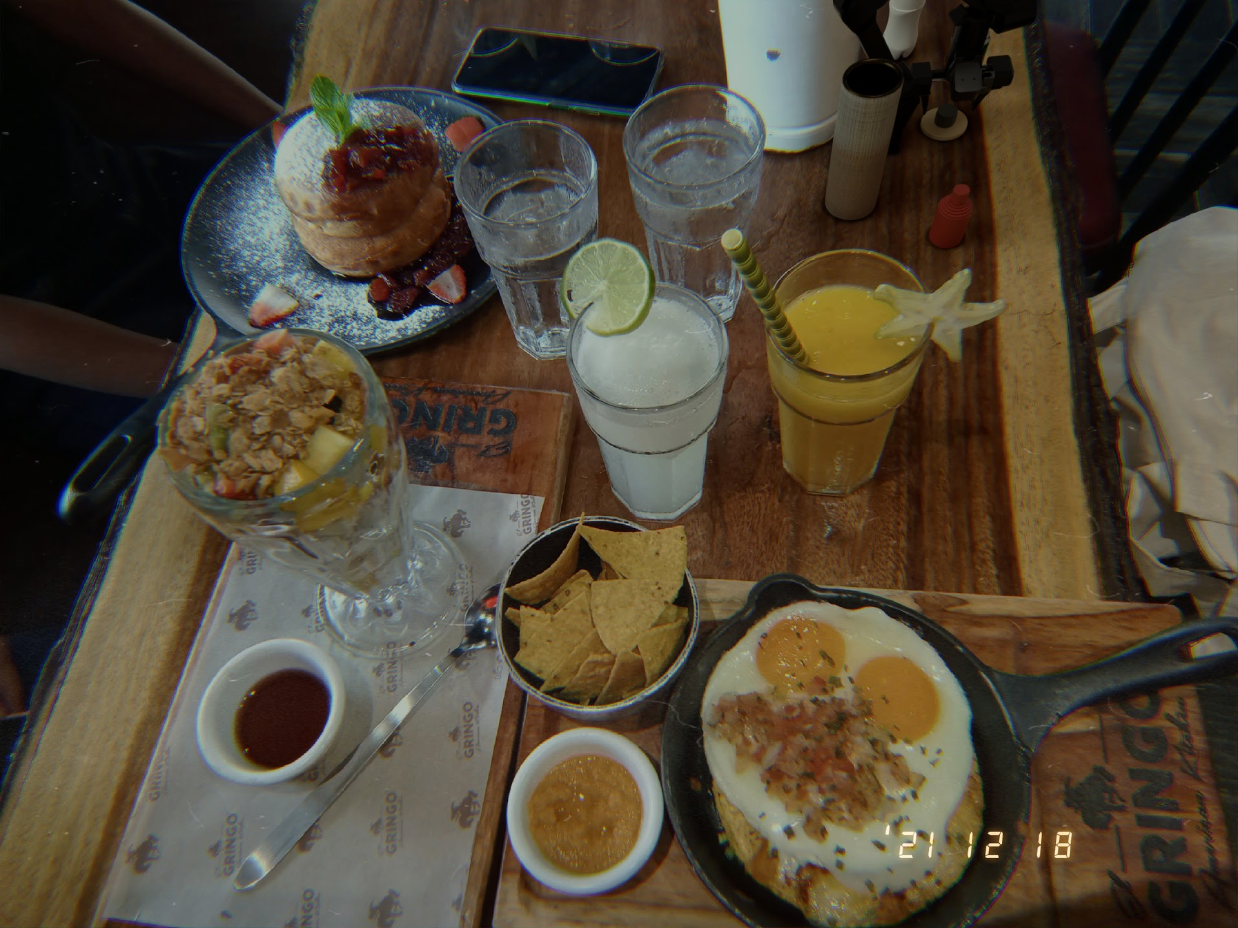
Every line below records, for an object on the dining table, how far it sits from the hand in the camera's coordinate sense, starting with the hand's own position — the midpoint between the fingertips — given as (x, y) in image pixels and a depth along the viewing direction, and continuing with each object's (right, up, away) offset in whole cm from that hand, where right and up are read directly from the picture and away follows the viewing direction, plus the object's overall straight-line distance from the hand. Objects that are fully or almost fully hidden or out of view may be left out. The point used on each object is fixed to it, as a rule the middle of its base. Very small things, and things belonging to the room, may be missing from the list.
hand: (947, 112), depth 149 cm
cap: (0, 0, 0) cm, 0 cm away
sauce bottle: (-5, -28, -10) cm, 30 cm away
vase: (-21, -20, -2) cm, 29 cm away
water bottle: (-5, +20, +14) cm, 25 cm away
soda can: (+6, +8, +7) cm, 13 cm away
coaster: (0, -1, +3) cm, 3 cm away
